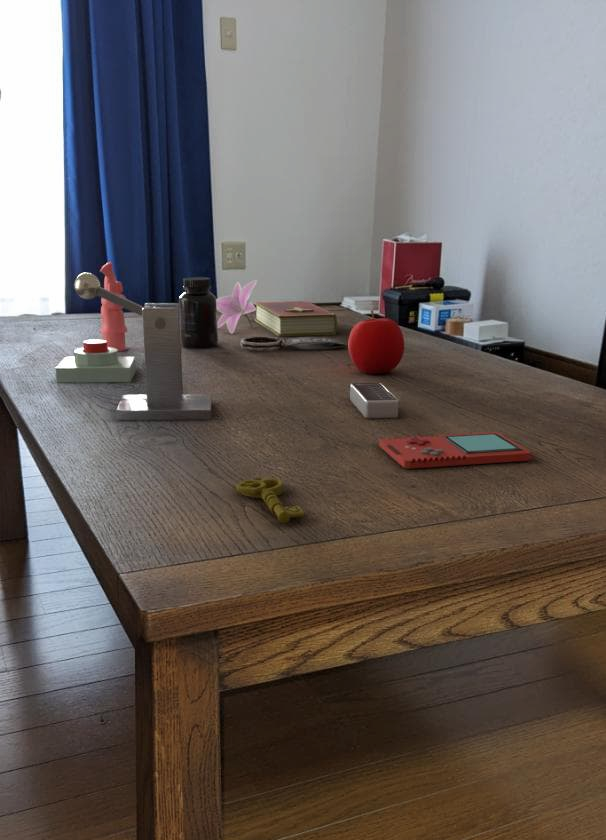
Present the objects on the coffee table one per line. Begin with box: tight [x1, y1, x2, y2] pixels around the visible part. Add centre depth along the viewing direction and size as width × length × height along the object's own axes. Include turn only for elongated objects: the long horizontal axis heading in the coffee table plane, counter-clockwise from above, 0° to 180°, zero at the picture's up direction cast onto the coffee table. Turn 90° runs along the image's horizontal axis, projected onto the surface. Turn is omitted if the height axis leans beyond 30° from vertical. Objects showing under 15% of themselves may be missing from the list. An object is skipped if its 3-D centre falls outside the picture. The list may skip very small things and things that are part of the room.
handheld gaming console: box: [379, 431, 532, 469], centre depth 103 cm, size 9×1×15 cm
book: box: [253, 300, 338, 338], centre depth 186 cm, size 12×21×4 cm, turn 16°
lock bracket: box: [115, 302, 213, 421], centre depth 117 cm, size 12×9×14 cm
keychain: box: [239, 336, 347, 352], centre depth 164 cm, size 8×19×2 cm, turn 99°
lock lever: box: [73, 272, 158, 317], centre depth 114 cm, size 13×3×3 cm, turn 94°
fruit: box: [347, 309, 405, 375], centre depth 143 cm, size 9×9×10 cm
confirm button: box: [82, 339, 108, 353], centre depth 138 cm, size 4×4×2 cm
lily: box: [216, 279, 259, 335], centre depth 182 cm, size 12×12×10 cm
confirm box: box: [55, 347, 137, 383], centre depth 139 cm, size 11×9×4 cm
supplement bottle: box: [178, 276, 219, 349], centre depth 164 cm, size 7×7×12 cm
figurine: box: [99, 261, 129, 352], centre depth 158 cm, size 5×5×15 cm
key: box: [235, 477, 305, 524], centre depth 86 cm, size 12×1×5 cm
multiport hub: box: [349, 382, 400, 419], centre depth 122 cm, size 4×11×2 cm, turn 9°
